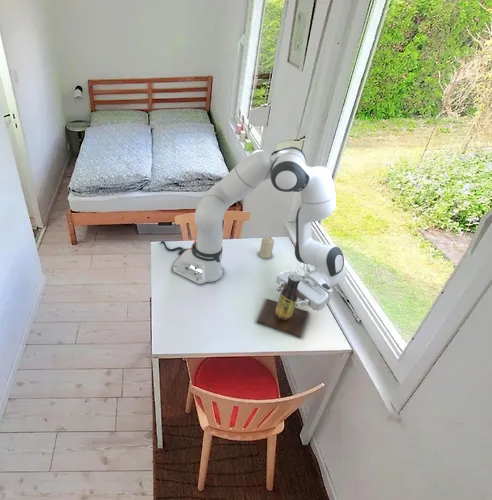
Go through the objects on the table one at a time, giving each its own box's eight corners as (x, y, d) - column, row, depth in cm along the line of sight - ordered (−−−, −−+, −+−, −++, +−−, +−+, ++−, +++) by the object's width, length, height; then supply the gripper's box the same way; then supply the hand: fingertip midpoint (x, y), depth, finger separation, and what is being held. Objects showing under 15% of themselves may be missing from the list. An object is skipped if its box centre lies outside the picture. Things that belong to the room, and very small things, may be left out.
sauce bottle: (271, 312, 150) (280, 273, 138) (283, 308, 152) (293, 269, 140) (282, 323, 145) (293, 284, 133) (295, 318, 147) (307, 279, 135)
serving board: (257, 322, 148) (257, 320, 147) (266, 300, 157) (267, 298, 157) (300, 337, 141) (300, 335, 140) (307, 313, 151) (308, 311, 150)
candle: (271, 259, 180) (275, 241, 174) (259, 258, 181) (262, 240, 175) (270, 252, 184) (274, 235, 179) (259, 251, 185) (262, 234, 180)
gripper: (292, 263, 153) (267, 275, 147) (336, 292, 138) (310, 306, 133) (289, 275, 157) (264, 287, 151) (332, 305, 142) (306, 319, 137)
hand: (286, 297), depth 142 cm, fingers open, 8 cm apart
